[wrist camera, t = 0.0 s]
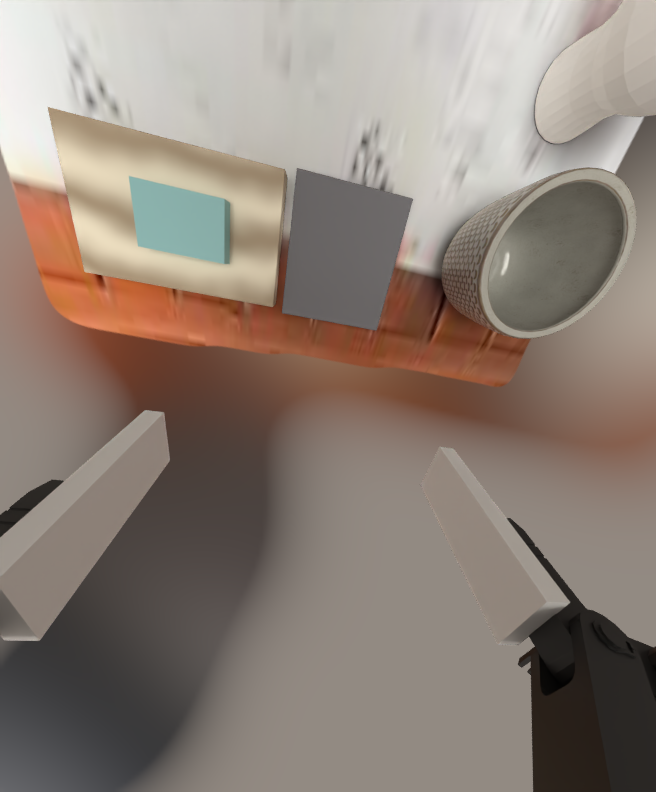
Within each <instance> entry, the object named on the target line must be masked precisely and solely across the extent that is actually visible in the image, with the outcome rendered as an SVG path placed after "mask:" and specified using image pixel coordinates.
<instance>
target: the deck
mask: <svg viewBox="0 0 656 792" xmlns="http://www.w3.org/2000/svg"><path fill="white" fill-rule="evenodd" d="M48 111H49V116H50V120H51V125H52V129H53V133H54V138H55V142H56V147H57V151H58V156H59V160H60V165H61V169H62V173H63V178H64V182H65V187H66V191H67V196H68V200H69V205H70V209H71V213H72V218H73V222H74V227H75V231H76V236H77V240H78V245H79V249H80V253H81V258H82V262H83V267H84V271H85V272H88V273H94V274H99V275H104V276H110V277H115V278H120V279H126V280H131V281H136V282H141V283H147V284H152V285H157V286H163V287H168V288H173V289H179V290H184V291H189V292H195V293H200V294H205V295H211V296H216V297H221V298H227V299H232V300H237V301H243V302H248V303H253V304H259V305H264V306H269V307H274V305H275V304H276V297H277V286H278V275H279V264H280V253H281V243H282V232H283V221H284V210H285V199H286V188H287V175H286V171H285V169H281V168H277V167H274V166H270V165H266V164H262V163H258V162H255V161H251V160H247V159H243V158H239V157H236V156H232V155H228V154H224V153H220V152H217V151H213V150H209V149H205V148H201V147H198V146H194V145H190V144H186V143H182V142H179V141H175V140H171V139H167V138H163V137H160V136H156V135H152V134H148V133H144V132H141V131H137V130H133V129H129V128H125V127H122V126H118V125H114V124H110V123H106V122H103V121H99V120H95V119H91V118H87V117H84V116H80V115H76V114H72V113H68V112H65V111H61V110H57V109H53V108H49V107H48ZM129 176H131V177H135V178H139V179H144V180H148V181H152V182H156V183H160V184H164V185H169V186H173V187H177V188H181V189H185V190H190V191H194V192H198V193H202V194H206V195H210V196H215V197H219V198H223V199H225V200H227V201H228V202H229V203H230V264H222V263H217V262H212V261H207V260H202V259H197V258H192V257H187V256H183V255H178V254H173V253H168V252H163V251H158V250H153V249H149V248H144V247H139V246H138V243H137V235H136V228H135V220H134V213H133V205H132V198H131V190H130V183H129Z"/></svg>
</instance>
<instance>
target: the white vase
mask: <svg viewBox="0 0 656 792" xmlns="http://www.w3.org/2000/svg"><path fill="white" fill-rule="evenodd" d="M615 114H618V115H623V116H631V117H642V116H650V115H656V0H623V2H622V3H621V5H620V6H619V8H618V10H617V11H616V12H615V13H614V14H613V15H612V16H611V17H610V18H609V19H608V20H607V21H606V22H605V23H604V24H603V25H602V26H600V27H599V28H597V29H595V30H594V31H592V32H590V33H588V34H587V35H585V36H584V37H582V38H581V39H579V40H578V41H576V42H575V43H573V44H572V45H571V46H569V47H568V48H566V49H565V50H563V51H562V53H561V54H560V55H559V56H558V57H557V58H556V59H555V60H554V61H553V63H552V64H551V66H550V67H549V69H548V70H547V72H546V73H545V76H544V78H543V80H542V82H541V85H540V87H539V90H538V94H537V98H536V103H535V121H536V126H537V129H538V131H539V134H540V135H541V136H542V137H543V138H544V139H545V140H546V141H548V142H551V143H558V144H561V143H564V142H567V141H570V140H572V139H574V138H575V137H577V136H578V135H580V134H582V133H583V132H585V131H586V130H588V129H590V128H591V127H592V126H594V125H595V124H597V123H598V122H600V121H601V120H602V119H604V118H606V117H609V116H612V115H615Z"/></svg>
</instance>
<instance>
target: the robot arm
mask: <svg viewBox="0 0 656 792" xmlns="http://www.w3.org/2000/svg"><path fill="white" fill-rule="evenodd" d="M169 461H170V457H169V449H168V441H167V433H166V425H165V417H164V413H163V412H156V411H148V410H145V411H144V412H143V413H141V414H140V415H139V416H138V417H137V418H136V419H135V420H133V421H132V422H131V423H130V424H129V425H128V426H127V427H125V428H124V429H123V430H122V431H121V432H120V433H119V434H118V435H116V436H115V437H114V438H113V439H112V440H111V441H110V442H108V443H107V444H106V445H105V446H104V447H103V448H102V449H101V450H99V451H98V452H97V453H96V454H95V455H94V456H92V457H91V458H90V459H89V460H88V461H87V462H86V463H84V464H83V465H82V466H81V467H80V468H79V469H78V470H77V471H75V472H74V473H73V474H72V475H71V476H70V477H69V478H68V479H67V480H65V481H61V480H51V481H49V482H47V483H45V484H43V485H41V486H39V487H37V488H36V489H34V490H32V491H30V492H28V493H27V494H26V495H24V496H23V497H22V498H21V499H20V500H18V501H17V502H16V503H15V504H13V505H12V506H11V507H10V509H9V510H8V511H5V512H3V513H2V514H1V515H0V636H1V637H2V638H3V639H4V640H26V641H27V640H28V641H30V640H31V641H33V640H34V641H39V640H40V639H41V638H42V636H43V635H44V634H45V632H46V631H47V629H48V628H49V627H50V625H51V624H52V622H53V621H54V620H55V618H56V617H57V616H58V614H59V613H60V612H61V610H62V609H63V607H64V606H65V605H66V603H67V602H68V600H69V599H70V597H71V596H72V595H73V594H74V592H75V591H76V589H77V588H78V587H79V585H80V584H81V582H82V581H83V580H84V578H85V577H86V576H87V574H88V573H89V571H90V570H91V569H92V567H93V566H94V564H95V563H96V562H97V560H98V559H99V558H100V556H101V554H102V553H103V552H104V551H105V549H106V548H107V547H108V545H109V544H110V542H111V541H112V540H113V538H114V537H115V535H116V534H117V533H118V531H119V530H120V529H121V527H122V526H123V524H124V523H125V522H126V520H127V519H128V517H129V516H130V515H131V513H132V512H133V511H134V509H135V508H136V506H137V505H138V504H139V502H140V501H141V500H142V498H143V497H144V495H145V494H146V493H147V491H148V490H149V488H150V487H151V486H152V484H153V483H154V481H155V480H156V479H157V477H158V476H159V474H160V473H161V472H162V470H163V469H164V468H165V466H166V465H167V463H168V462H169ZM421 487H422V490H423V492H424V494H425V496H426V498H427V500H428V502H429V504H430V506H431V508H432V510H433V512H434V514H435V516H436V518H437V521H438V522H439V525H440V527H441V529H442V531H443V533H444V535H445V537H446V539H447V541H448V543H449V545H450V547H451V549H452V551H453V553H454V556H455V558H456V559H457V562H458V564H459V566H460V568H461V570H462V572H463V574H464V576H465V578H466V580H467V582H468V584H469V586H470V588H471V590H472V592H473V595H474V597H475V599H476V601H477V603H478V605H479V607H480V609H481V611H482V613H483V615H484V617H485V619H486V621H487V623H488V625H489V628H490V630H491V632H492V634H493V636H494V638H495V640H496V642H497V644H498V645H519V644H520V643H521V642H523V641H524V640H525V639H526V638H528V637H530V639H531V640H532V642H533V644H534V645H535V647H534V648H532V649H531V650H530V651H529V652H527V653H526V654H525V655H523V656H522V657H521V658H520V659H519V663H518V665H519V666H520V667H523V666H525V665H526V664H527V663H529V662H530V661H531V668H530V669H529V670H528V673H529V674H530V675H531V698H532V700H531V702H532V746H533V747H532V751H533V792H656V647H651V646H648V645H646V644H644V643H641V642H639V641H636V640H633V639H631V638H629V637H627V636H626V635H625V634H624V633H623V632H622V631H621V630H620V629H619V628H618V627H617V626H616V625H615V624H614V623H612V622H611V621H610V620H608V619H607V618H606V617H604V616H603V615H601V614H599V613H597V612H595V611H593V610H587V609H586V608H585V607H584V605H583V604H582V603H581V602H580V601H579V599H578V598H577V597H576V596H575V594H574V593H573V592H572V590H571V589H570V588H569V587H568V585H567V584H566V583H565V582H564V580H563V579H562V578H561V577H560V575H559V574H558V573H557V572H556V570H555V569H554V568H553V566H552V565H551V564H550V563H549V562H548V560H547V559H545V558H544V555H543V554H542V553H541V551H540V550H539V549H538V548H537V547H535V544H534V543H533V541H532V540H531V539H530V538H529V536H528V535H527V534H526V532H525V531H524V530H523V529H522V528H521V527H519V526H518V525H517V524H516V523H515V522H514V521H513V520H512V519H510V518H506V517H505V516H504V515H503V513H502V512H501V511H500V509H499V508H498V507H497V505H496V504H495V503H494V501H493V500H492V499H491V497H490V496H489V495H488V494H487V492H486V491H485V490H484V488H483V487H482V486H481V484H480V483H479V482H478V480H477V479H476V478H475V476H474V475H473V474H472V472H471V471H470V470H469V469H468V467H467V466H466V465H465V464H464V462H463V461H462V459H461V458H460V457H459V455H458V454H457V453H456V451H455V450H454V449H453V448H445V447H439V449H438V451H437V453H436V455H435V457H434V459H433V461H432V463H431V465H430V467H429V470H428V471H427V474H426V475H425V477H424V479H423V481H422V483H421Z"/></svg>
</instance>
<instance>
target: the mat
mask: <svg viewBox="0 0 656 792" xmlns="http://www.w3.org/2000/svg"><path fill="white" fill-rule="evenodd" d="M412 201H413V199H412V198H408V197H404V196H400V195H396V194H393V193H389V192H385V191H381V190H378V189H374V188H370V187H366V186H363V185H359V184H355V183H351V182H348V181H344V180H340V179H336V178H332V177H329V176H325V175H321V174H317V173H314V172H310V171H306V170H302V169H299V168H297V173H296V183H295V192H294V202H293V212H292V221H291V231H290V240H289V250H288V260H287V269H286V279H285V289H284V298H283V308H282V313H285V314H290V315H295V316H301V317H306V318H312V319H317V320H322V321H328V322H333V323H339V324H344V325H349V326H355V327H360V328H365V329H371V330H377V327H378V323H379V320H380V316H381V312H382V309H383V305H384V302H385V298H386V294H387V291H388V287H389V284H390V280H391V276H392V273H393V269H394V266H395V262H396V258H397V255H398V251H399V248H400V244H401V240H402V237H403V233H404V230H405V226H406V222H407V219H408V215H409V212H410V208H411V205H412Z"/></svg>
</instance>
